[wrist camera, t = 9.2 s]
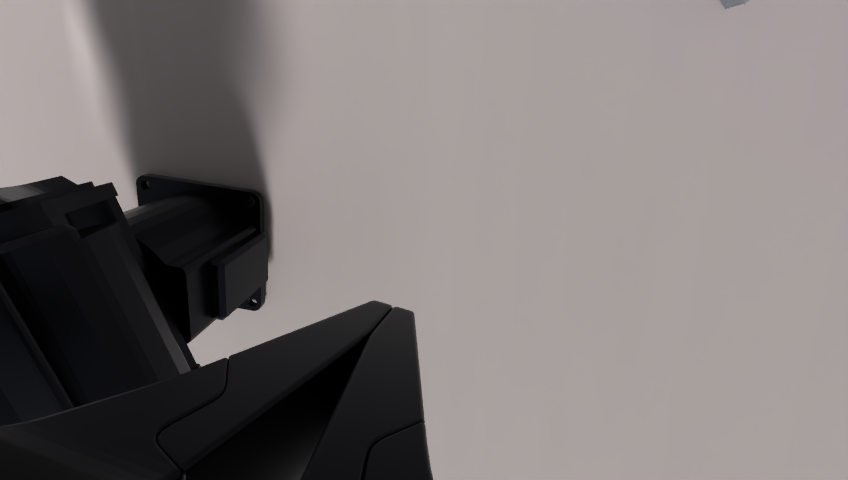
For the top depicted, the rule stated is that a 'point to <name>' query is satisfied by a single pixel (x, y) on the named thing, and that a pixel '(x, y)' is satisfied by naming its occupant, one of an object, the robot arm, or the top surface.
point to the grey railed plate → (732, 3)
